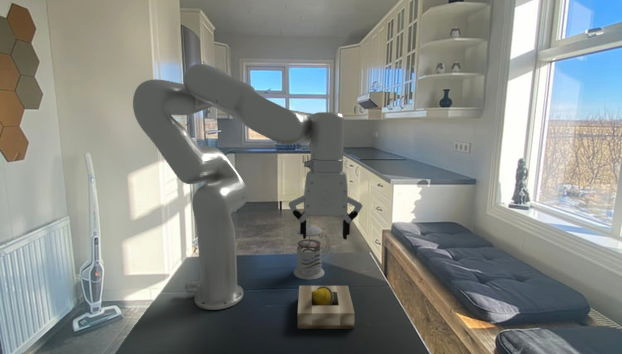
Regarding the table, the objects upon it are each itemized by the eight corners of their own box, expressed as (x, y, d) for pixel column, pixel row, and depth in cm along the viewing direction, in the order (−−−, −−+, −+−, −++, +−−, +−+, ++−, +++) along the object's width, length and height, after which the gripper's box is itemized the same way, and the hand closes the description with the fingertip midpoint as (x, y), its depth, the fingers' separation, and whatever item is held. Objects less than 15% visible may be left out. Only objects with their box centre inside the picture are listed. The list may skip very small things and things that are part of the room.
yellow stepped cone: (339, 309, 83) (324, 300, 75) (320, 313, 84) (303, 305, 77) (336, 287, 86) (320, 277, 78) (317, 292, 88) (300, 283, 80)
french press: (289, 268, 107) (289, 193, 103) (321, 263, 112) (322, 190, 108) (300, 281, 98) (300, 199, 94) (335, 275, 103) (336, 196, 99)
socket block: (297, 328, 76) (297, 313, 75) (299, 298, 89) (299, 285, 88) (354, 328, 76) (354, 313, 75) (347, 299, 89) (347, 285, 88)
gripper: (288, 168, 73) (287, 242, 75) (366, 169, 73) (363, 243, 76) (290, 164, 80) (289, 231, 83) (361, 165, 80) (358, 232, 83)
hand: (324, 237), depth 79 cm, fingers open, 9 cm apart
